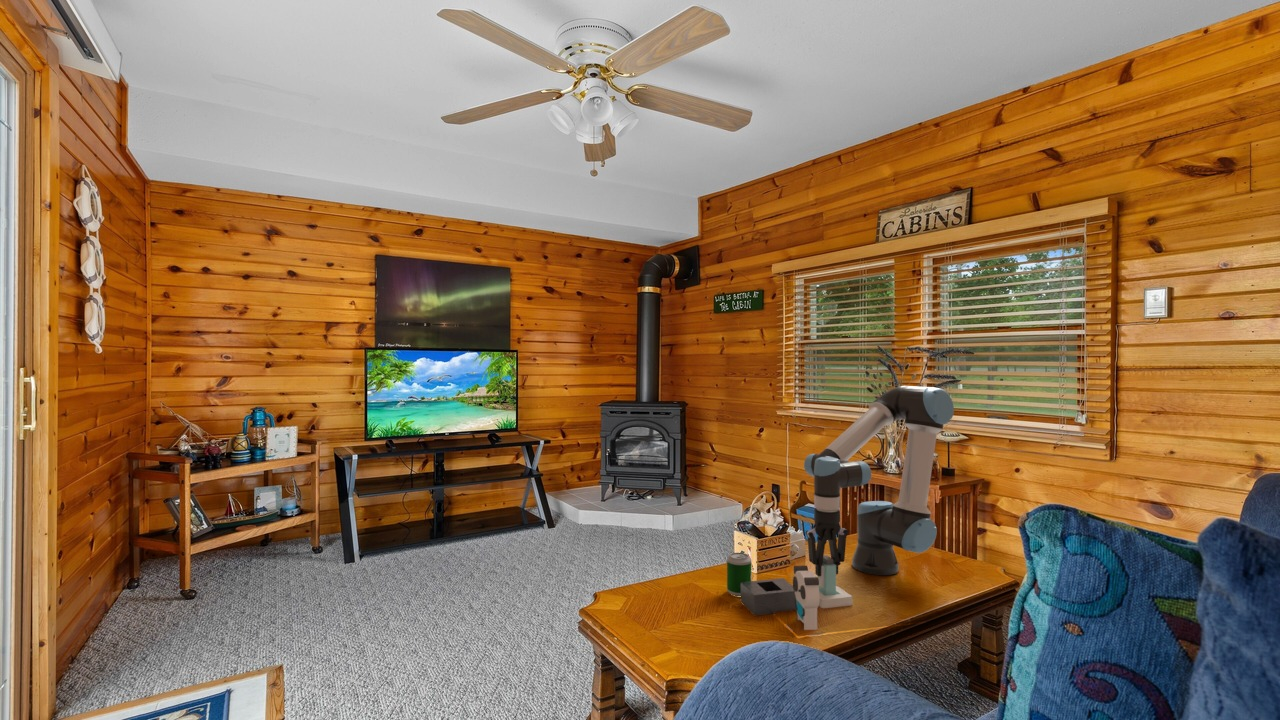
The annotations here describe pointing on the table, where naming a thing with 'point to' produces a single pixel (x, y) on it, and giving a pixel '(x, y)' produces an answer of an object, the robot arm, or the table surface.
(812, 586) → the panda figurine
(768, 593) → the block
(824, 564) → the plug
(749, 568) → the soda can
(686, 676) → the table surface
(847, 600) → the white flat block
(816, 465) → the robot arm
